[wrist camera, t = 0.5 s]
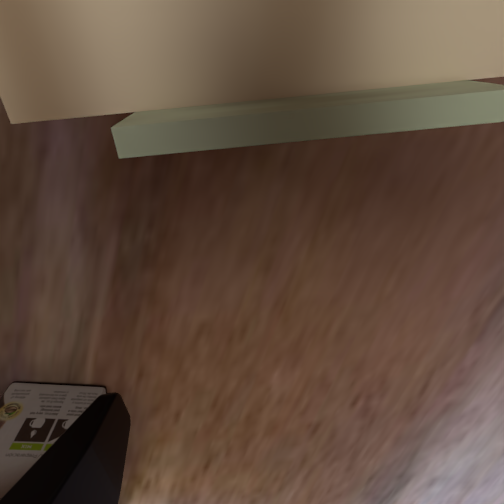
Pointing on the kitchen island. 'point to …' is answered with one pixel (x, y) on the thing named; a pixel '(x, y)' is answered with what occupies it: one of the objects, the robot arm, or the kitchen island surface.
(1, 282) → the kitchen island surface
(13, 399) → the coffee box
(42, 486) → the robot arm
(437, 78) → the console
